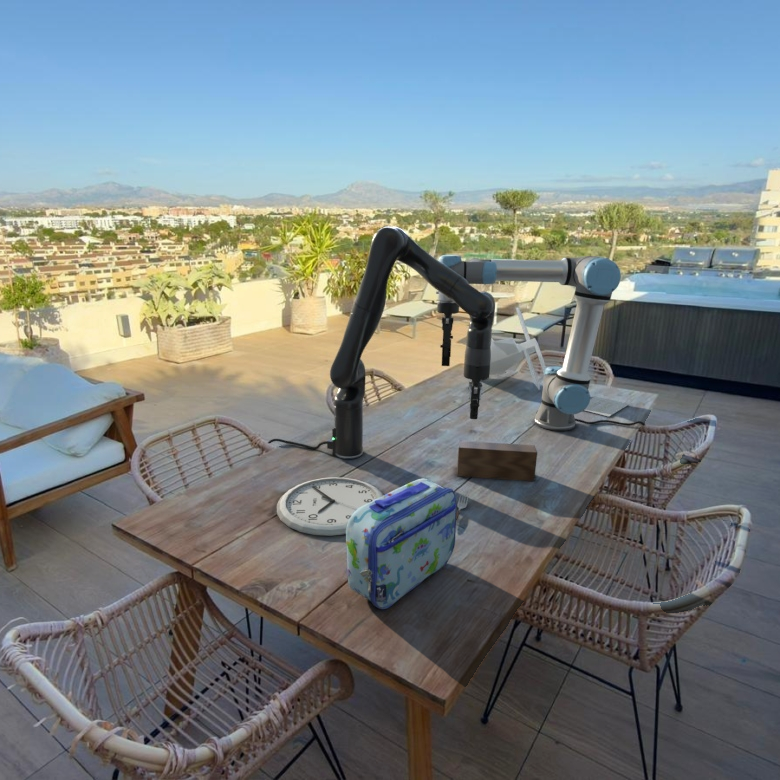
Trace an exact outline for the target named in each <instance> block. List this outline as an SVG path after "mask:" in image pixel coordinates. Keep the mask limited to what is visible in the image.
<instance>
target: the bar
mask: <svg viewBox="0 0 780 780" xmlns="http://www.w3.org/2000/svg"><path fill="white" fill-rule="evenodd" d="M457 449H458V450H457V463H456V476H457V477H464V478H465V477H466V478H479V479H494V480H508V481H509V480H510V481H525V482H535V478H536V468H537V459H538V450H537V447H536V446H535V445H534V444H519V443H503V442H488V441H486V442H485V441H471V440H458V447H457Z"/></svg>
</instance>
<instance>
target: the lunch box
mask: <svg viewBox="0 0 780 780" xmlns="http://www.w3.org/2000/svg"><path fill="white" fill-rule="evenodd" d="M456 498H457V496H456V493H455V491H454V489H452V488H450V487H443V486H441V485H439V484H438V483H436V482H433V481H432V480H430V479H427V478H423V477H422V478H418V479H416V480H413V481H411V482H409V483H406V484H405V485H402V486H400V487H398V488H396V489H394V490H392V491H390V492H388V493H386V494H384V496H382V497H380V498H378V499H376V500H374V501H372V502H370V503H368V504H366V505H364V506H362V507H360V508H358V509H357V510H356V511H355V512H354V513H353V514H352V515H351V517H350V519H349V521H348V524H347V528H346V534H345V547H346V549H345V550H346V572H347V573H346V575H347V584H348V587H349V589H350V590H351V591H353V592H355V593H357V594H358V595H361V596H363V597H364V598H365V599H367V600H368V601H369V602H371V604H372V605H373V606H374V607H376V608H377V609H380V610H386V609H389V608H391V607H393V605H395V603H397V602H398V601H399V600H400V599H402V598H403V597H404V596H405V595H408V593H410V592H411V591H412V590H413V589H415V588H416V587H417V586H419V585H420V584H421V583H423V581H424V580H425V579H427V578H428V577H430V576H431V575H433V574H435V573H437V572H438V571H439V570H441V569H442V568H443V567H444V566H446V564H447V563H448V562H449V560H450V559H451V556H452V555H453V552H454V548H455V544H456V531H457V530H456V529H457V520H456V512H457V499H456Z"/></svg>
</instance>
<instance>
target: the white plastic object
mask: <svg viewBox="0 0 780 780" xmlns="http://www.w3.org/2000/svg"><path fill="white" fill-rule="evenodd" d="M515 311H516V314H517V316H518V320H519V323H520V326H521V329H522V332H523V335H524V338H525V341H524V342H521V343H516V340H515V339H514V337H507V338H504V339H499V340H498V339H497V340H494V339H493V337H491V361H490V374H489V376H495V375H496V376H497V377H498V376H501V375H504V374H507V370H509V369H511V368H512V367H513V366H515V365H516V364H517V363H519V362H521V361H522V360H523V359H524V358H525V360H526V363H527V366H528V370H529V372H530V375H531V379H532V382H533V384H534V386H535V387H536V389H538V391H540V390H541V386H540V383H539V379H538V376H537V374H536V370H535V368H534V364H533V361H532V358H531V354H533V353H536V355H537V358H538V360H539V364H540V367H541V370H542V373H543V374H544V373H545V369H546V368H547V366H546V362H545V360H544V356H543V354H542V351H541V348H540V345H539V343H538V341H537V339H536V337H533V338H531V337H530V334H529V332H528V328H527V324H526V321H525V319H524V315H523V313H522V311H521V309H520V307H519V306H518V307H515Z"/></svg>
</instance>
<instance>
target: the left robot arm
mask: <svg viewBox="0 0 780 780" xmlns="http://www.w3.org/2000/svg"><path fill="white" fill-rule="evenodd" d="M367 257H368V258H367V263H366V267H365V270H364V274H363V276H362V278H361V281H360V284H359V287H358V290H357V293H356V295H355V298H354V302H353V303H352V307H351V310H350V313H349V318H348V320H347V324H346V327H345V330H344V334H343V338H342V341H341V344H340V346H339V348H338V351H337V353H336V355H335V357H334V359H333V362H332V364H331V366H330V370H329V378H330V381H331V383H332V385H334V387H336V388H338V389H337V391H336V394H335V396H334V399H333V404H334V405H333V406H334V407H333V408H334V409H333V410H334V426H333V427H332V428H331V433H332V434H331V435H332V436H331V437H330V438H329V439H327V440H325V441H321V442H319V443H318V444H317V445H316V446H311V445H308V444H304V443H299V442H297V441H296V442H295V441H290V440H285V439H281V438H272V439H270V440H269V441H268V442H267V444H272V443H273V442H279V443H284V444H288V445H294V446H298V447H301V448H306V449H309V450H318V449H320V447H321V446H323V445H326V449H327V450H332V456H335V457H337V458H339V459H342V460H354V459H358V458H360V457H362V456H363V454H364V450H363V449H364V447H363V445H364V444H363V442H364V441H363V436H364V435H363V434H364V432H363V429H364V421H363V419H364V415H363V414H364V413H363V412H364V410H363V408H364V405H363V403H364V402H363V401H364V398H365V394H366V377H367V376H366V366H365V364H364V363H365V362H364V361H363V360H362V359H361V358H362V355H363V353H364V351H365V349H366V347H367V345H368V344H369V342H370V341H371V339H372V338H373V336H374V335H375V333H376V331H377V330H378V327H379V324H380V322H381V319H382V317H383V314H384V312H385V311H384V310H385V307H386V303H387V302H386V301H387V289H388V282H389V278H390V275H391V273H392V270H393V268H394V266H395V263H396V262H397V261H398V262H400V263H402V264H404V265H406V266H408V267H410V268H411V269H413V271H415V272H416V273H418V275H420V276H421V277H422V278H423V279H424V280H425V282H427V283H428V284H429V285H430V286H431V287H432V288H433V289H435V290H436V291H439V292H441V293H442V294H444V295H445V296H446V297H448V298H449V299H451V300H453V301H454V302H455V303H456V304H457V305H458V306H459V309H461V310H462V311H464V312H465V313H466V314H467V315H469V316H470V317H469V326H468V328H467V332H466V343H465V344H466V345H465V351H464V363H463V377H464V378H465V379H467V380H471V381H469V382H468V394H469V395H468V400H470V402H469V403H470V404H469V409H470V410H469V419H470V420H477V419H478V418H479V417H478V416H479V415H478V414H479V407H480V401H481V400H482V391H483V382H481V381H486V380H488V379H489V378H490V375H489V374H490V361H491V338H493V337H492V335H493V334H492V328H493V323H494V319H495V311H496V301H495V298H494V296H493V295H492V294H491V293H490V292H487V291H479V290H478V289H477V288H476V287H474V286H472V284H469V283H468V281H467V280H466V279H465V278H463V277H461V275H459V274H458V273H456V272H455V271H453V270H452V269H450V268H449V267H447V266H446V265H444V264H443V263H441V262H440V261H439V259H437V258H435V257H434V256H433V255H432V254H430V253H428V252H427V250H425V249H423V248H422V247H421V246H420V245H419V244H417V242H415V240H413V238H411V236H409V235H408V234H407V233H406V232H405V231H404V230H403V228H400V227H398V226H384V227H382V228H380V229H378V230H377V231H376V232H375V234H374V235H373V237H372V239H371V244H370V248H369V253H368V256H367Z"/></svg>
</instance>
